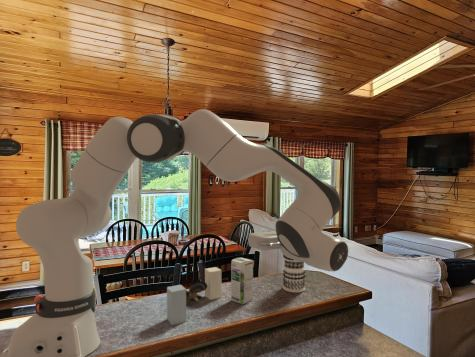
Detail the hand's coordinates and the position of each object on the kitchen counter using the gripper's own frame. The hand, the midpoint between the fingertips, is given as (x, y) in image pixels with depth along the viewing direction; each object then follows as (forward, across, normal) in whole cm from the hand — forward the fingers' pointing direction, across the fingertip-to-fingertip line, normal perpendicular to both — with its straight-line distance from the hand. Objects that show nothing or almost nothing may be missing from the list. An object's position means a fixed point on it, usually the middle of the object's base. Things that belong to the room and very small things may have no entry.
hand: (266, 233), depth 100 cm
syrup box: (+15, +1, -27) cm, 31 cm away
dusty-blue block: (+12, -25, -27) cm, 39 cm away
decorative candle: (+15, +24, -27) cm, 39 cm away
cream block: (+23, -7, -27) cm, 36 cm away
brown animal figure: (+23, -14, -27) cm, 39 cm away
